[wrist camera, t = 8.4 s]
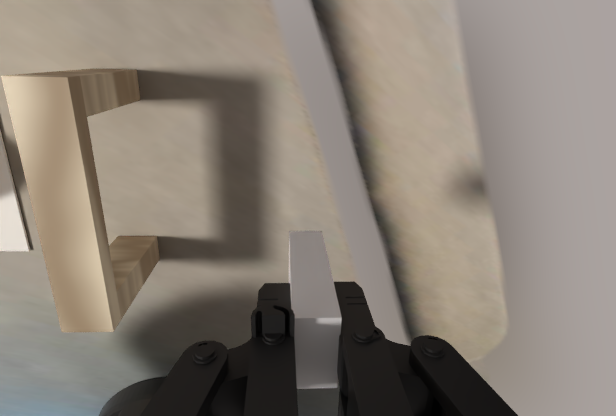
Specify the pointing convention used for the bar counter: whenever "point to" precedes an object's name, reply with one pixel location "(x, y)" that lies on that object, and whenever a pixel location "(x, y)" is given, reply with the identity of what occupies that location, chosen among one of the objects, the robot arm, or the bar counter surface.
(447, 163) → the bar counter surface
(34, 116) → the bridge
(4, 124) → the bar counter surface
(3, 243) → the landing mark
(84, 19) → the bar counter surface
